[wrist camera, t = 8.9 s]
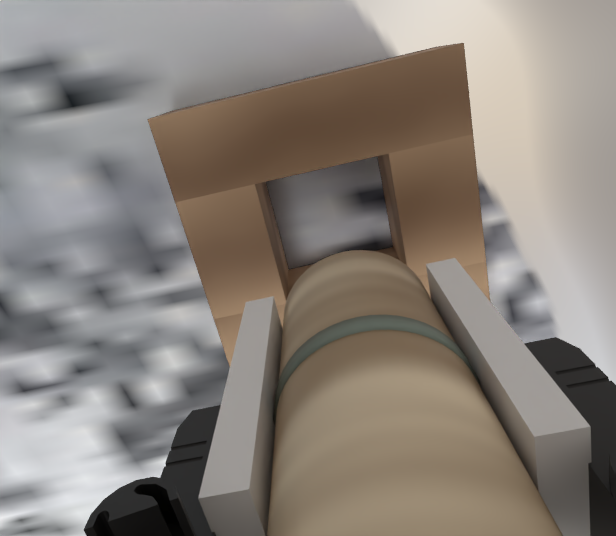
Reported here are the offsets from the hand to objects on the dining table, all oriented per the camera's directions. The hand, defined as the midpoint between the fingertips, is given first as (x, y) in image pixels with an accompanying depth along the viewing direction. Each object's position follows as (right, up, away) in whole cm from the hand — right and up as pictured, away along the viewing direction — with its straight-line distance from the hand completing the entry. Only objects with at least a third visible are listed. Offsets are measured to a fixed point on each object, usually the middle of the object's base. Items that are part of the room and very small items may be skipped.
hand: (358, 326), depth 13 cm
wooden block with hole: (0, +2, +12) cm, 12 cm away
